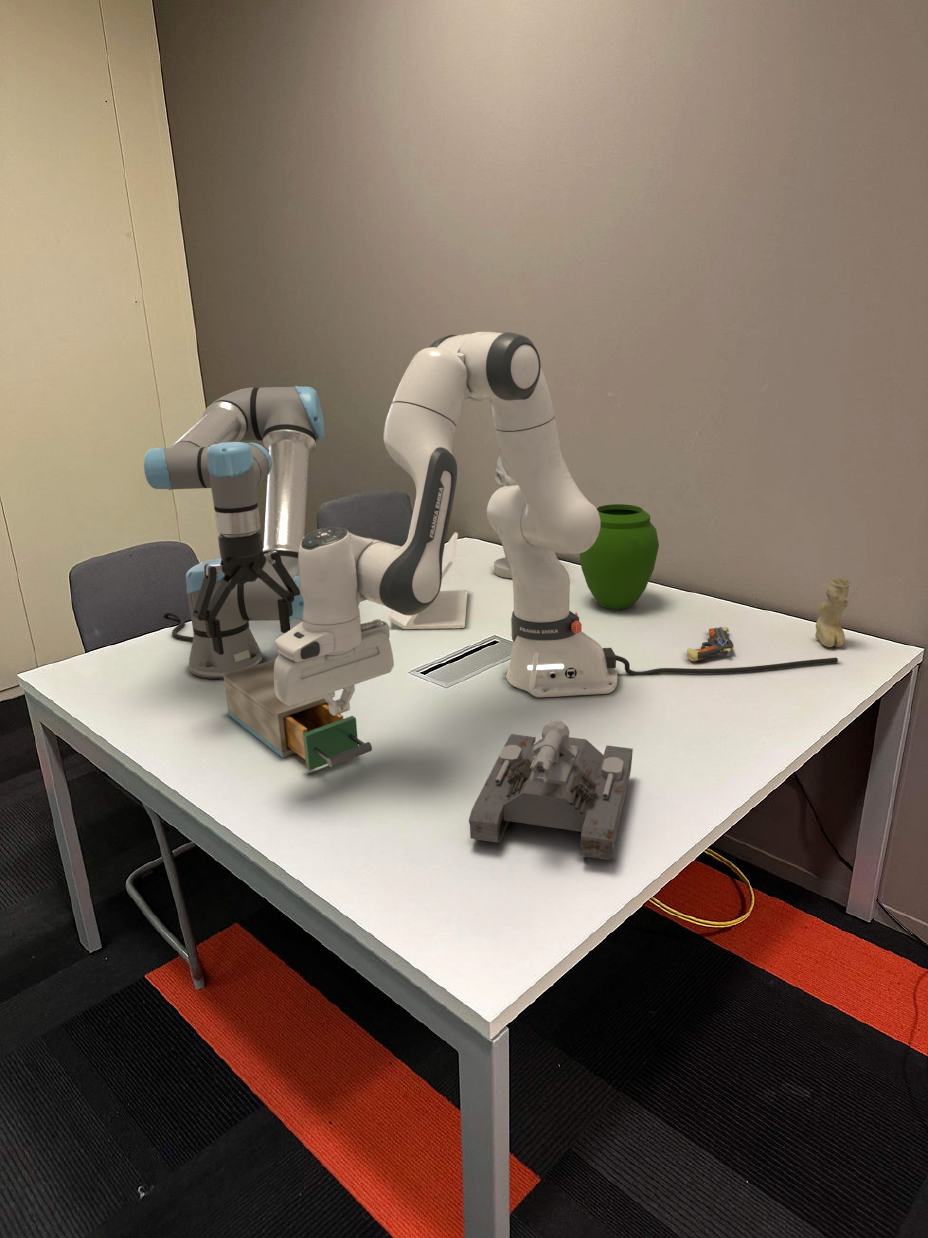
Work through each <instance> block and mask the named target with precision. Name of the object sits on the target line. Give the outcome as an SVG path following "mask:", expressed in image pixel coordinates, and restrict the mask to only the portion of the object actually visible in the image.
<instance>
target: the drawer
mask: <svg viewBox="0 0 928 1238" xmlns="http://www.w3.org/2000/svg"><path fill="white" fill-rule="evenodd" d="M283 720H284V729H285V738H286V746H288V747H289V748H290V749H292V750H293V751H294V752H296V753H295V754H297V755H298V756H299V757H301V758H302V759H303V760H305V767H306V768H305V769H307V770H308V771H313V770H315V769H318V768H320V767H323V766H325V765H327V766H328V767H329V768H333V767H335V766H338V765H340V764H343V763H345V762H348V761H351V760H352V759H355V758H358V757H360V756H362V755H365V754H367V753H370V752H372V751H373V746H372V744H371V742H370V741H366V742H364V741H362V740H361V739H359V738H358V728H357V727H358V726H357V718H356V717H355V716H354V715H350V716H347V717H345V718H344V715H343V714H342V713H340V714H338V715H335V716H333V715H332V714H330V712H329V706H327V705H326V704H324V703H323V704H320V705H317V706H314V707H312V708H309V709H306V710H303V711H300V712H297V713H294V714H291V715H288V716H286V717H283Z"/></svg>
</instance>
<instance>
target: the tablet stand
mask: <svg viewBox="0 0 928 1238" xmlns="http://www.w3.org/2000/svg"><path fill="white" fill-rule="evenodd" d="M458 537H459V533H458V532H456V531H455V532H453V534H452V535H451V537H450V539H449V540H448V542H447V543H446V544H445V546H444V552H443V559H442V579H443V578H444V577H445V575H446V574H447V573H448V571H449V570H450V569H451V567H452V566H453V564H454V562H455V558H456V553H457V545H458ZM467 605H468V591H467V590H440V591H439V594H438V596H437V597H436V599H435V600H434V602H433V603H432V604H431V605H430V606H429V607H427V608H426V609H425V610H423V611H422V612H420V613H418V614H415V615H410V616H408V615H403V614H401V613H399V612H396V611H394V610H392V609H391V610H390V612H389V613H390V614H389V617H388V621H389V622H391V623H392V624H394V625H396V626H398V627H399V628H401V629H402V630H426V629H427V630H429V629H430V630H431V629H435V630H436V629H437V630H438V629H464V628H465V627H466V618H467V617H466V616H467Z"/></svg>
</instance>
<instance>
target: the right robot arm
mask: <svg viewBox="0 0 928 1238" xmlns="http://www.w3.org/2000/svg"><path fill="white" fill-rule="evenodd" d="M541 364H542V363H541V358H540V354H539V352H538V350H537V348H536V346H535V343H534V342H533V341H532V340H531V339H530V338H528V337H527V336H525V335H523V334H520V333H516V332H510V331H508V332H497V331H496V332H495V331H476V332H473V333H472V332H471V333H464V334H458V335H457V334H449V335H445V336H441V337H440V338H438V339H436V340H434V341H433V342H432V343H431V344H430V345H429V347H426V348H422V349H421V350H419V351H417V352H416V353H415V355H414V356H413V357H412V359H411V361H410V362H409V364H408V366H407V368H406V370H405V371H404V372H403V373H404V374H403V375H402V378H401V379H400V381H399V384H398V386H397V388H396V391H395V394H394V396H393V399H392V401H391V404H390V407H389V409H388V413H387V415H386V419H385V422H384V428H383V434H382V435H383V436H382V440H383V443H384V446H385V450H386V451H387V453H388V455H389V456H390V458H391V460H393V462H394V463H395V464H396V465H397V466H398V467H400V468H401V469H402V470H403V471H405V472H406V473H407V475H409V476H410V478H411V479H412V481H413V482H414V485H415V490H416V491H415V492H416V493H415V501H414V506H413V510H412V517H411V521H410V525H409V530H408V535H407V538H406V542H405V543H404V544H403V545H402V546H401V545H398V544H393V543H389V542H387V541H383V540H379V539H374V538H371V537H364V536H363V537H362V536H359V535H356V534H354V533H351V532H349V530H348V529H346V528H344V527H341V526H328V527H321V528H317V529H314V530H313V531H311V532H308V533H307V534H305V537H304V538H303V539H302V541H301V544H300V547H299V553H298V577H299V588H300V593H301V596H302V598H303V602H304V608H303V613H302V618H303V619H302V621H300V622H299V623H298V624H296V625H294V627H292V628H291V630H289V631H288V632H286V633H285V634H284V633H282V635H280V636H278V637H277V638H276V639H275V641H274V648H275V650H276V651H277V652H278V653H279V654H278V655H277V656H276V658H275V659H274V660H275V663H274V688H275V694H276V697H277V698H278V699H279V700H280V701H281V702H283V703H285V704H286V705H288V706H293V705H296V704H299V703H302V702H305V701H308V700H311V699H313V698H316V697H319V696H322V697H323V698H324V699H325V701H326V702H327V703H328V705H329V712H330V714H332V715H333V716H335V715H338V714H343V713H347V712H348V711H349V712H350V710H351V704H350V703H351V700H352V697H353V695H354V693H355V691H356V687H355V685H357V684H361V683H363V682H366V681H369V680H372V679H373V680H374V679H375V678H378V677H381V676H384V675H387V674H390V673H391V672H392V671H393V668H394V666H395V660H394V654H393V649H392V646H391V641H390V637H391V636H390V635H391V633H390V626H389V623H388V622H387V621H385V620H381V619H380V618H378V619H374V620H371V621H368V622H363V623H361V612H360V611H361V610H360V608H359V607H360V604H361V603H363V602H364V601H369V602H372V603H375V604H378V605H382V606H385V607H386V608H387V609H391V610H394V611H396V612H399V613H401V614H403V615H408V616H410V615H415V614H418V613H420V612H422V611H423V610H425V609H426V608H427V607H429V606H430V605H431V604H432V603H433V602H434V600H435V599H436V597H437V596H438V594H439V591H441V587H442V581H443V578H442V559H443V552H444V548H445V546H446V540H447V534H448V532H449V531H448V530H449V525H450V520H451V515H452V510H453V504H454V499H455V494H456V487H457V482H458V481H457V480H458V463H457V460H456V458H455V456H454V455H453V444H454V438H455V434H456V430H457V427H458V424H459V421H460V417H461V413H462V409H463V405H464V403H465V402H466V401H472V402H482V401H489V402H490V404H491V405H490V407H491V413H492V421H493V426H494V431H495V436H496V441H497V446H498V447H497V448H498V451H499V457H500V458H501V463H502V466H503V468H504V470H505V471H506V473H507V474H508V475H509V476H510V477H511V478H512V479H513V480H514V481H515V482H516V484H517V485H512V486H504V487H502V486H500V487H499V488H497V489H496V490H495V491H494V492H493V494H492V495H491V497H490V499H489V501H488V503H487V508H486V512H487V514H486V517H487V521H488V524H489V526H490V527H491V529H493V531H494V533H496V536H498V538H499V540H500V542H502V543H501V545H502V544H503V546H504V549H505V552H506V555H507V558H508V561H509V564H510V568H511V572H512V578H511V579H512V592H513V593H512V594H513V596H512V597H513V611H512V612H511V618H510V635H511V640H512V645H511V646H512V647H511V655H510V660H509V665H508V669H507V672H506V675H505V678H506V681H507V683H509V684H510V685H511V686H513V687H515V688H517V689H519V690H522V691H525V692H527V693H529V694H530V695H531V696H533V697H535V698H556V697H572V696H573V697H574V696H588V695H589V696H590V695H591V696H592V695H607V694H611V693H612V692H613V691H615V690H616V688H617V686H618V673H617V670H616V668H617V662H620V663H622V664H623V665H624V671H625V673H626V674H627V675H629V676H651V675H657V674H694V675H695V674H696V675H697V674H698V675H699V674H703V675H704V674H732V673H733V674H735V673H749V672H758V671H759V672H760V671H771V670H778V669H785V668H794V667H802V666H811V665H822V664H832V663H838V662H839V658H838V657H828V658H816V659H806V660H797V661H789V662H781V663H772V664H762V665H753V666H752V665H751V666H740V667H719V668H718V667H717V668H687V667H686V668H685V667H684V668H683V667H659V668H658V667H657V668H653V669H649V670H643V671H634V670H632V669H631V668H630V667H631V665H630V662H629V661H628V659H627V658H625V657H623V656H619V655H617V654H616V653H615V652H614V650H613V648H612V647H602V645H601V644H600V643H599V642H598V641H596V640H595V639H593V638H591V637H590V636H589V635H587V634H586V633H585V632H583V631H582V630H583V626H582V625H583V624H582V622H581V621H580V616H579V615H578V612H577V611H575V613H574V612H573V611H571V610H570V590H571V589H570V586H571V585H570V584H571V579H570V574H569V572H568V571H567V569H566V568H565V567H564V565H563V564H562V563H561V562H560V559H559V558H558V557H557V554H579V553H583V552H585V551H587V550H588V549H589V548H591V547H592V545H593V544H594V543H595V541H596V540H597V538H598V535H599V532H600V525H601V522H600V516H599V513H598V510H597V507H596V506H595V505H594V504H593V503H591V502H590V501H589V500H588V499H587V497H586V496H585V495H584V494H583V493H582V491H581V490H580V488H579V486H578V485H577V483H576V482H575V480H574V478H573V476H572V474H571V472H570V470H569V469H568V466H567V464H566V461H565V458H564V456H563V452H562V447H561V442H560V437H559V431H558V426H557V422H556V421H557V419H556V416H555V409H554V404H553V403H554V402H553V400H552V395H551V391H550V387H549V385H548V382H547V379H546V376H545V374H544V371H543V369H542V367H541ZM503 546H502V547H503ZM504 549H503V550H504ZM556 553H557V554H556ZM340 690H342V692H341V694H340V698H338V699H335V700H334V698H335V697H336V692H337V691H340ZM332 697H333V699H332Z"/></svg>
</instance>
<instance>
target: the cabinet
mask: <svg viewBox="0 0 928 1238" xmlns="http://www.w3.org/2000/svg"><path fill="white" fill-rule="evenodd" d="M275 660H276V659H272V660H269V661H265V662H262V663H261V664H258V665H255V666H251V667H248V668H245V669H241V670H238V671H235V672H231V673H228V674H225V675H223V677H224V678H223V683H224V691H225V698H226V704H227V713H228V716H229V717H230V718H231V719H232V720H234V721H235V722H236V723H238V724H239V725H240V726H241V727H242V728H244V729H245V730H247V731H248V732H249V733H250V734H252V735H253V736H254V737H256V739H257V740H260V742H261V743H263V744H264V745H266V746H267V747H268V748H269V749H271V750H272V751H273V752H274V753H276V754H277V755H278V756H280V758H282V759H284V758H286V757H289V756H292V755H294V754H297V753H296V752H294V751H293V750H292V749H290V748H289V747H288V746H286V738H285V729H284V720H283V717H286V716H288V715H291V714H294V713H297V712H300V711H303V710H306V709H309V708H312V707H314V706H317V705H320V704H323V703H324V704H326V705H327V706H329V705H328V703H327V702H326V701H325V699H324V698H323V697H322V696H319V697H316V698H313V699H311V700H308V701H305V702H302V703H299V704H296V705H293V706H288V705H286V704H285V703H283V702H281V701H280V700H279V699H278V698H277V697H276V694H275V688H274V663H275ZM332 699H333V700H334V697H332Z"/></svg>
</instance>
